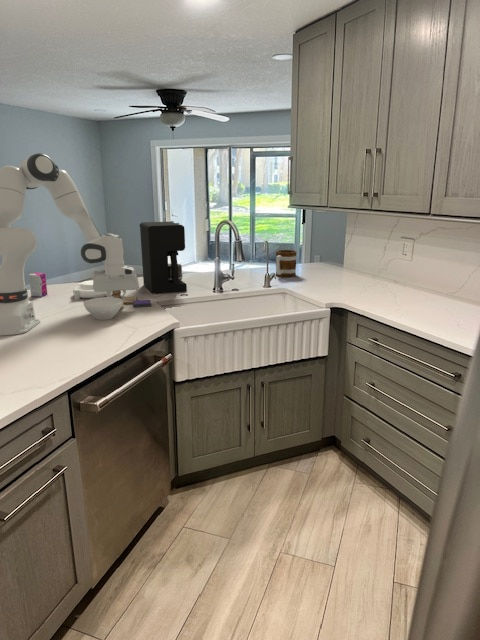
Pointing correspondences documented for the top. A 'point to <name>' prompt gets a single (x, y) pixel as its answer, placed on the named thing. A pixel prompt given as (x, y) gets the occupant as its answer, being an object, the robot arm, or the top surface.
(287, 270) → the mug
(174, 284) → the coffee maker
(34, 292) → the supplement box
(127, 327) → the top surface
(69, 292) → the top surface
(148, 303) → the ink pad
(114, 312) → the bowl
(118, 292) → the stamp
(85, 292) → the round stand with pegs
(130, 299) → the board
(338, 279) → the top surface
